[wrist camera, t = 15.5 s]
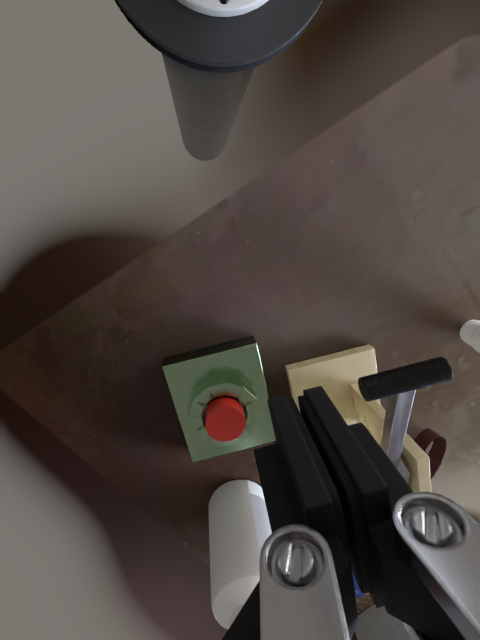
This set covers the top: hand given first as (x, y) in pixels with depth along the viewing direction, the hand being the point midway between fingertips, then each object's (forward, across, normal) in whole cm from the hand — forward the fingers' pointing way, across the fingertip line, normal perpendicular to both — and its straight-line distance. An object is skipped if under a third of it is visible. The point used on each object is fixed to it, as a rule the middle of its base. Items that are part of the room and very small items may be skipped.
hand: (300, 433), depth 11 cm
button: (+19, +4, +12) cm, 23 cm away
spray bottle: (+23, +5, +26) cm, 35 cm away
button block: (+23, +4, +12) cm, 26 cm away
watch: (+23, -16, +25) cm, 38 cm away
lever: (+11, -8, +10) cm, 17 cm away
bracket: (+23, -8, +16) cm, 29 cm away
